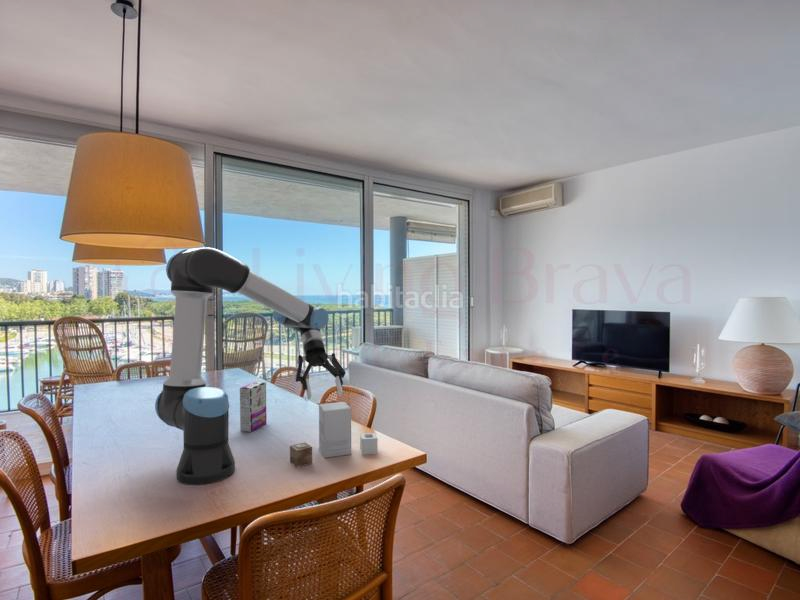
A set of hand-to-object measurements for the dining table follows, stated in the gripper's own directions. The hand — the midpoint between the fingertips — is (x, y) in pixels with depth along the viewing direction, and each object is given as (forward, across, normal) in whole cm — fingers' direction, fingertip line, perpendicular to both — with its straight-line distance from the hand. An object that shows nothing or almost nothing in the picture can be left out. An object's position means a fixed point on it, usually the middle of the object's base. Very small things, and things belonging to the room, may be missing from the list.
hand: (325, 395), depth 147 cm
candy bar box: (-7, +20, -31) cm, 37 cm away
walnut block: (+21, +12, -2) cm, 25 cm away
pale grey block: (+22, -10, -1) cm, 24 cm away
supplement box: (+19, 0, -4) cm, 19 cm away
